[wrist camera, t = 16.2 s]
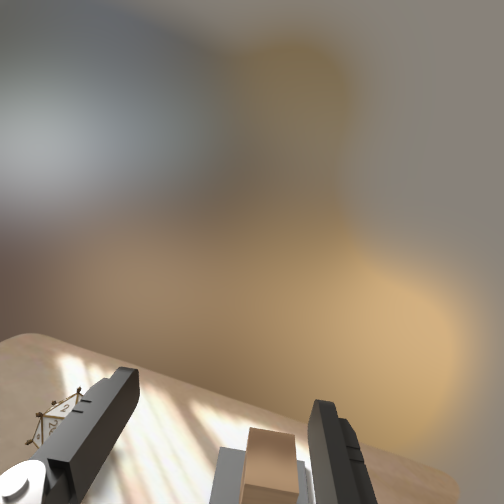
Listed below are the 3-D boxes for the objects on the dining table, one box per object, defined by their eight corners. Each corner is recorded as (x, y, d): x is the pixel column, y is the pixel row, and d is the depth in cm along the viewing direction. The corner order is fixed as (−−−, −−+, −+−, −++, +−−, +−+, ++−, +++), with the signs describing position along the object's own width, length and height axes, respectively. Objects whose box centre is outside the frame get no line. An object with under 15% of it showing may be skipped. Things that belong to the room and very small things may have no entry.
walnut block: (281, 549, 27) (299, 493, 23) (234, 540, 27) (244, 483, 24) (280, 488, 32) (294, 434, 28) (240, 481, 32) (249, 427, 29)
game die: (87, 462, 36) (103, 455, 31) (13, 476, 31) (16, 471, 26) (100, 395, 42) (116, 380, 36) (39, 399, 37) (46, 381, 32)
